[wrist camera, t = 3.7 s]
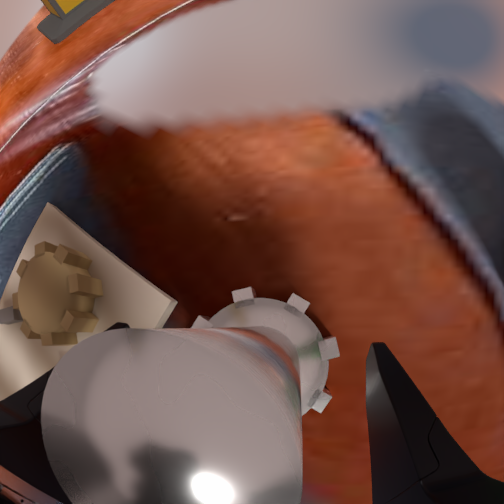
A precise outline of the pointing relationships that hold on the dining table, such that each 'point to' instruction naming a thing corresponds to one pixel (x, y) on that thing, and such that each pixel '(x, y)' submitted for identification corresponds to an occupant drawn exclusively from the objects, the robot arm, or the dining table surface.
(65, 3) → the lantern
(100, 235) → the dining table surface
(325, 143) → the dining table surface
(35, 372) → the carrier plate
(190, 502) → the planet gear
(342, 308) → the dining table surface
